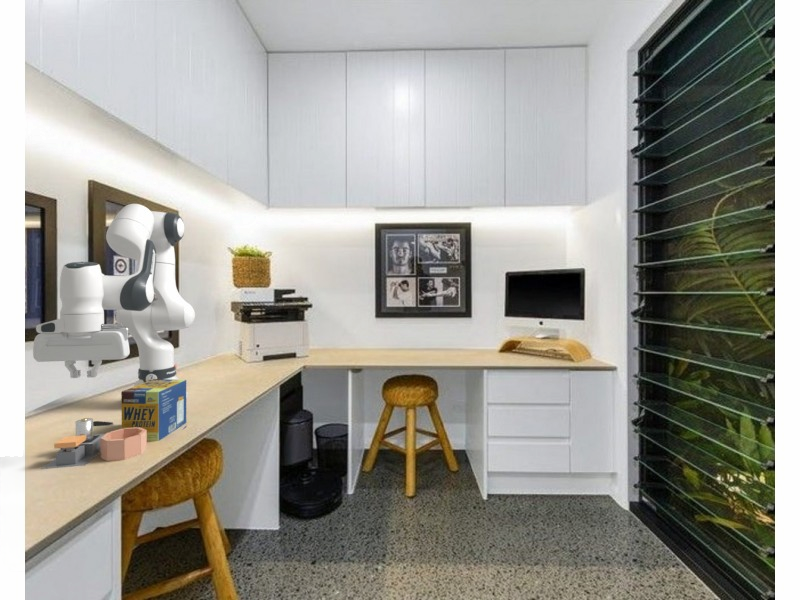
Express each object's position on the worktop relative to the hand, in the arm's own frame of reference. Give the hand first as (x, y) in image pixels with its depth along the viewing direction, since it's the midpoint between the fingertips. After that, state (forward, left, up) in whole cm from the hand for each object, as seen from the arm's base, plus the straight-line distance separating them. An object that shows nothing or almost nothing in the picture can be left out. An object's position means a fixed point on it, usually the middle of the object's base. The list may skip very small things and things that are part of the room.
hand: (83, 377), depth 102 cm
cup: (+4, +10, -21) cm, 24 cm away
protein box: (-12, +13, -21) cm, 27 cm away
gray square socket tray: (+3, 0, -21) cm, 21 cm away
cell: (0, 0, -19) cm, 19 cm away
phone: (-19, -10, -22) cm, 31 cm away
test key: (+6, 0, -19) cm, 20 cm away
